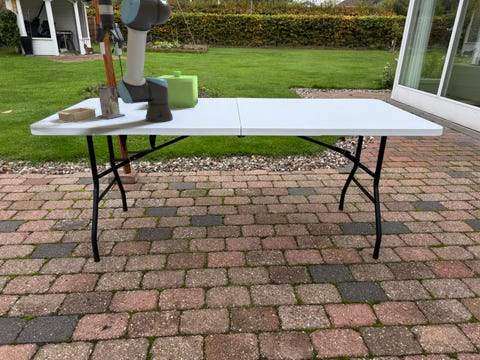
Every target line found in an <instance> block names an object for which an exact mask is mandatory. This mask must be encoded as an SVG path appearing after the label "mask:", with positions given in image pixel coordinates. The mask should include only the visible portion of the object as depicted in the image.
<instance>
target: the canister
mask: <svg viewBox="0 0 480 360" xmlns="http://www.w3.org/2000/svg"><path fill="white" fill-rule="evenodd" d="M172 74H173V75H172ZM172 74H171V75H166V74H165V75H164V74H163V75H161V76H158V77H156V78H160V79H165V80H166V81H167V85H168V101H169V108H187V109H188V108H195V107H196V106H197V105H198V103H199V90H198V87H199V86H198V76H197V75H182V71H181V70H180V71H179V70H174V71H172Z"/></svg>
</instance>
